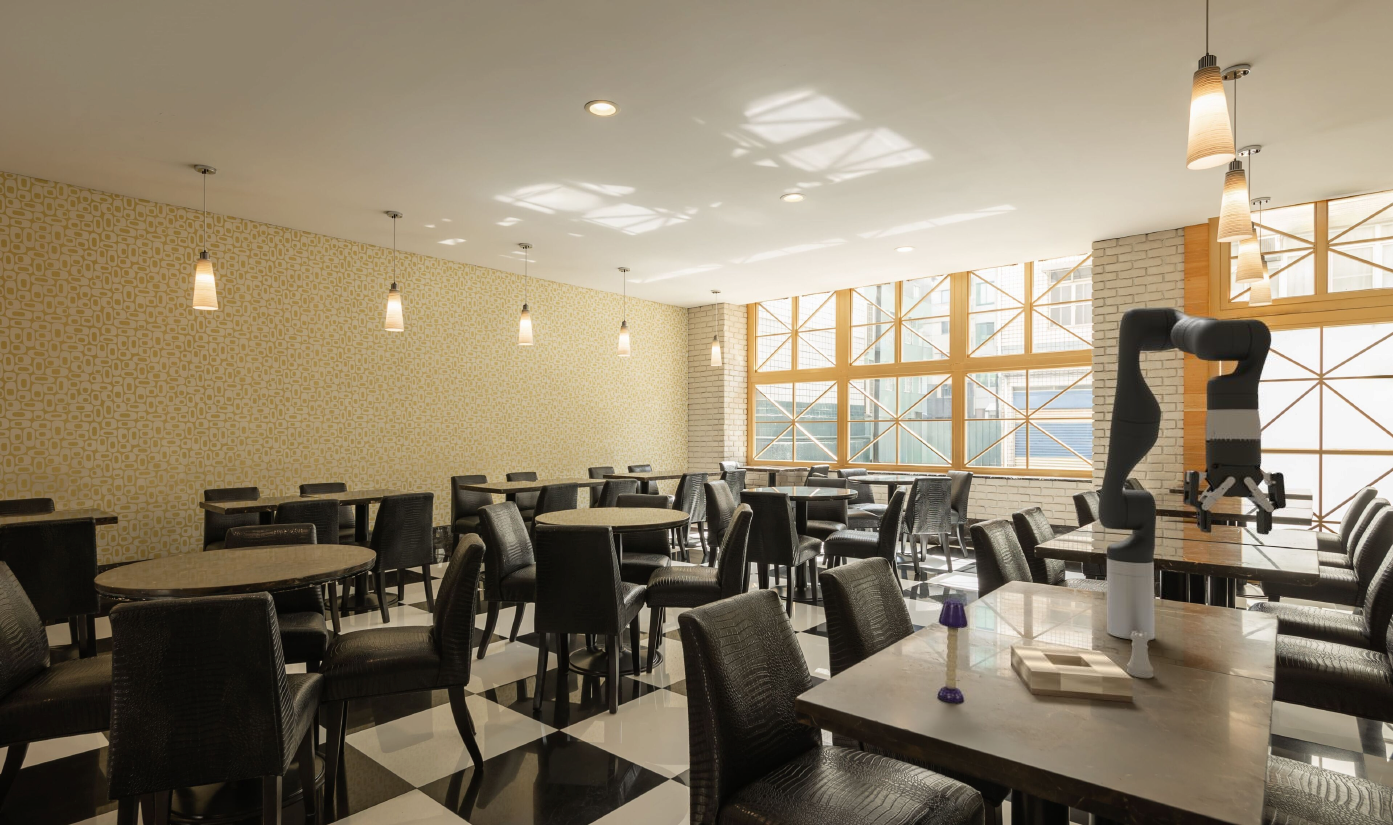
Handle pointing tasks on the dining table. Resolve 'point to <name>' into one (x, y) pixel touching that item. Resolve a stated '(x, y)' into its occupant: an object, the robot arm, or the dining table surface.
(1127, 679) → the socket block
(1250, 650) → the dining table surface
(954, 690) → the toy lamp
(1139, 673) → the rook chess piece
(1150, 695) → the dining table surface
